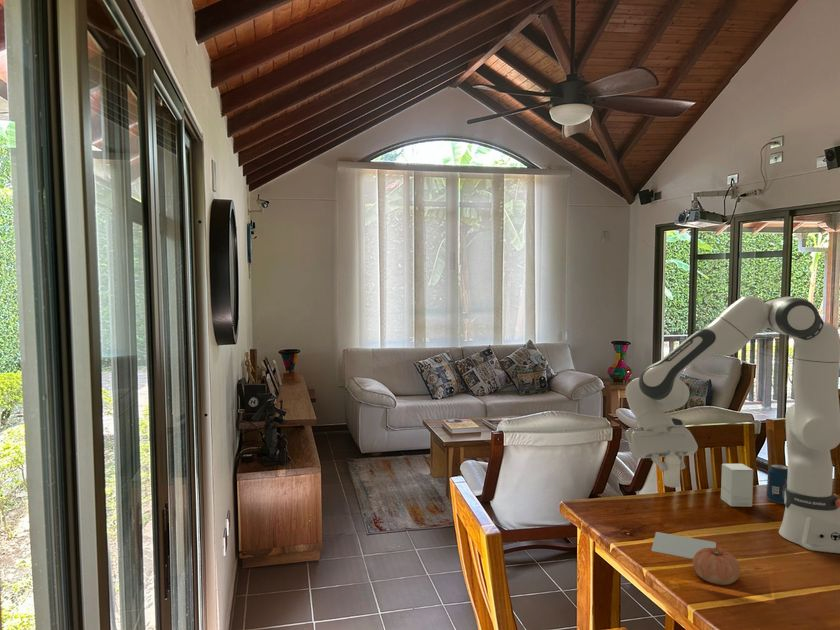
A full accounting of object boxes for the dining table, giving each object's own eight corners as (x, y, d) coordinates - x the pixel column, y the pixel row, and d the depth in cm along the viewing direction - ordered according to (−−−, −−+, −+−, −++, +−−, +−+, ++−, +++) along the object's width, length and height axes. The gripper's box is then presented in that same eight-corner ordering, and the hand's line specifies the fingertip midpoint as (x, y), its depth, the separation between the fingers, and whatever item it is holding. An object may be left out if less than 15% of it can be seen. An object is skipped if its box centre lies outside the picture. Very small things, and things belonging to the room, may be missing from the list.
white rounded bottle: (680, 483, 175) (681, 450, 174) (679, 488, 171) (680, 454, 170) (663, 481, 177) (664, 448, 176) (662, 485, 173) (663, 452, 172)
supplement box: (752, 507, 201) (754, 469, 200) (730, 506, 201) (731, 469, 200) (741, 498, 208) (742, 463, 207) (720, 498, 208) (721, 462, 208)
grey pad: (715, 545, 172) (715, 542, 171) (715, 566, 159) (715, 563, 159) (655, 535, 179) (655, 531, 179) (651, 554, 166) (651, 550, 166)
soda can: (770, 495, 212) (772, 461, 211) (792, 500, 207) (794, 466, 206) (763, 500, 207) (765, 465, 206) (786, 505, 202) (787, 470, 201)
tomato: (686, 569, 158) (687, 539, 157) (729, 571, 157) (730, 541, 156) (701, 590, 147) (702, 559, 146) (747, 593, 146) (748, 561, 145)
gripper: (627, 423, 178) (645, 465, 169) (688, 420, 182) (709, 461, 173) (619, 434, 182) (636, 476, 173) (679, 431, 186) (698, 471, 177)
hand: (673, 469), depth 173 cm, fingers closed on white rounded bottle, 4 cm apart
